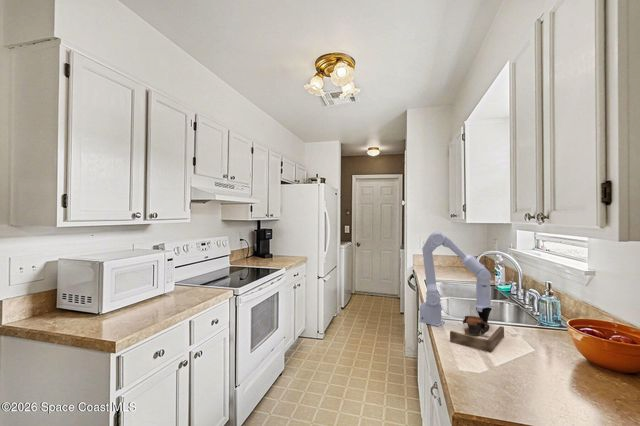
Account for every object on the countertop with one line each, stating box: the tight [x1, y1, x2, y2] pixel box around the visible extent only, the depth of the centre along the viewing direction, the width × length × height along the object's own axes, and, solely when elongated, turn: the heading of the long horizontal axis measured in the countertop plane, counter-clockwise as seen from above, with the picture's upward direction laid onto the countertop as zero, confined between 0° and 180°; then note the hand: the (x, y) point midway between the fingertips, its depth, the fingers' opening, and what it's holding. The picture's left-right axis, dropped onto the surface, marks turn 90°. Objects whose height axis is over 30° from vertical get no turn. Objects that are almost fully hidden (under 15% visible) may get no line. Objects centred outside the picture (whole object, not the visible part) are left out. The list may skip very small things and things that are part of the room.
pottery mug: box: [462, 315, 490, 337], centre depth 130 cm, size 12×10×8 cm
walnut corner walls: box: [449, 325, 505, 354], centre depth 123 cm, size 15×20×4 cm
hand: (484, 323), depth 136 cm, fingers closed
